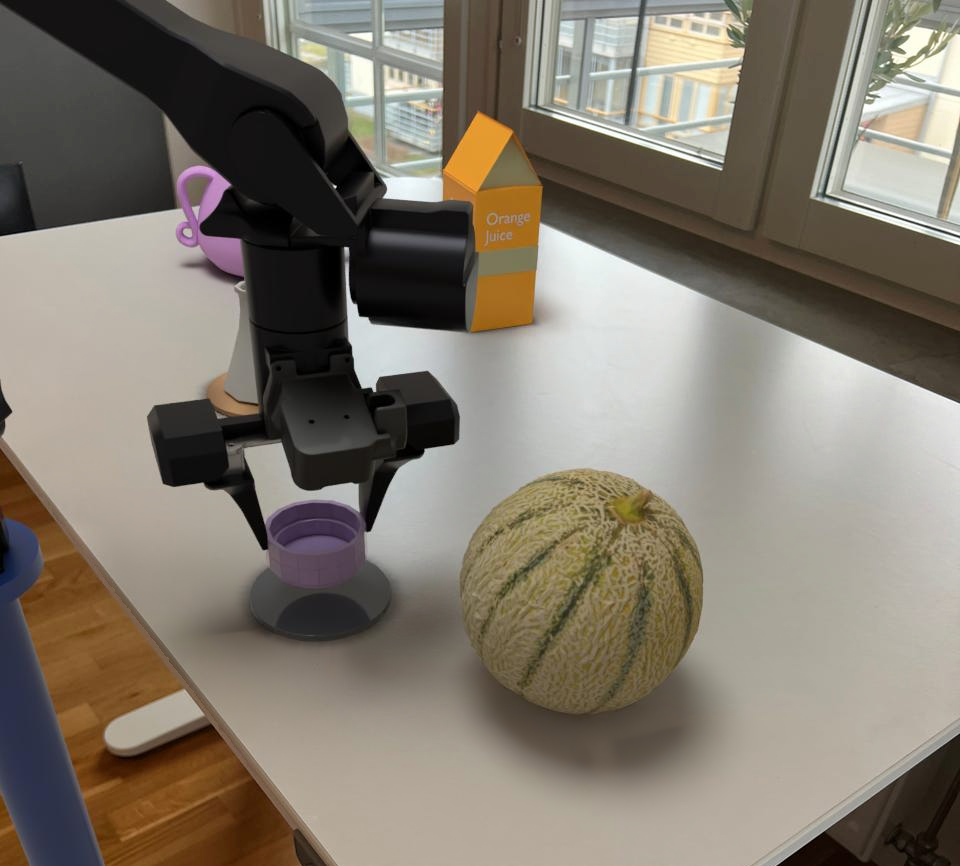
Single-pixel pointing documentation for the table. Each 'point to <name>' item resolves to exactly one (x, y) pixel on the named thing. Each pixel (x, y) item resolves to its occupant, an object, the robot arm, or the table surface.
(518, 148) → the orange juice
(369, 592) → the slate coaster
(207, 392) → the cork coaster
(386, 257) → the robot arm
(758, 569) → the table surface
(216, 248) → the teapot
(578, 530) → the cantaloupe
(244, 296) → the flask
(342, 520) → the dish
